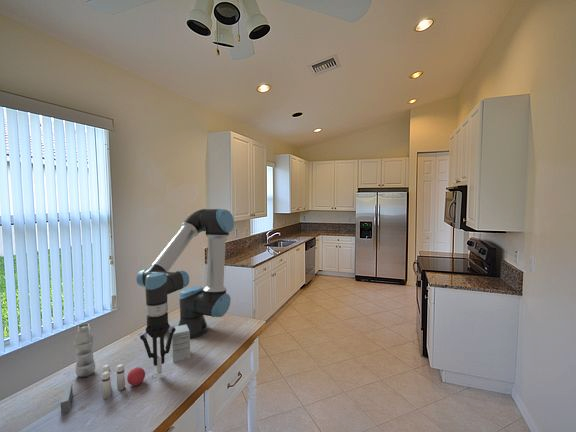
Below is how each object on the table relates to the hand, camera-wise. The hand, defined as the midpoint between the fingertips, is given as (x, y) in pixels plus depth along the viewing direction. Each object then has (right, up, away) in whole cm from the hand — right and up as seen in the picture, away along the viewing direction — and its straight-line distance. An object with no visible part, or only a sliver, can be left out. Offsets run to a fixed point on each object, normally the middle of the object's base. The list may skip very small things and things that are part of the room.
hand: (159, 372), depth 113 cm
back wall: (-25, -3, -15) cm, 29 cm away
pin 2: (-14, -3, -11) cm, 18 cm away
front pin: (-11, -2, -7) cm, 13 cm away
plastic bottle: (-30, -2, +2) cm, 30 cm away
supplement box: (+3, -1, +15) cm, 15 cm away
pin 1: (-16, -2, -7) cm, 18 cm away
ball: (-7, +1, -4) cm, 8 cm away
